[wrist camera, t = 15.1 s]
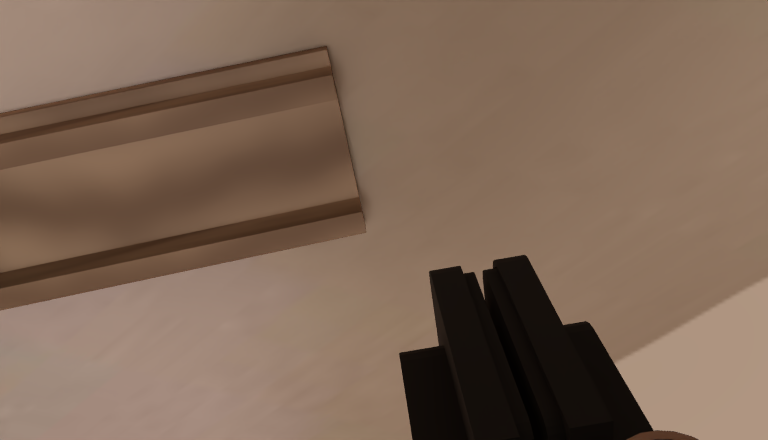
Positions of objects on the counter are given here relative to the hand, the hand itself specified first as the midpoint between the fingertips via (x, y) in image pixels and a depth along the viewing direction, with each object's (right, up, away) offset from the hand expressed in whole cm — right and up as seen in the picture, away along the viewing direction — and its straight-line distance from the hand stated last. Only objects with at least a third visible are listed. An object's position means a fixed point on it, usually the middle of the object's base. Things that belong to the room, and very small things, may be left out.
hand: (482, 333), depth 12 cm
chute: (-17, +3, +24) cm, 30 cm away
